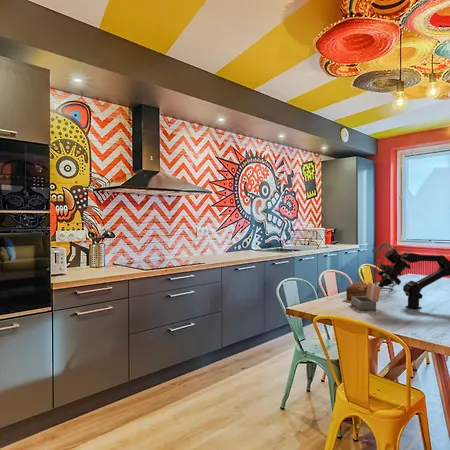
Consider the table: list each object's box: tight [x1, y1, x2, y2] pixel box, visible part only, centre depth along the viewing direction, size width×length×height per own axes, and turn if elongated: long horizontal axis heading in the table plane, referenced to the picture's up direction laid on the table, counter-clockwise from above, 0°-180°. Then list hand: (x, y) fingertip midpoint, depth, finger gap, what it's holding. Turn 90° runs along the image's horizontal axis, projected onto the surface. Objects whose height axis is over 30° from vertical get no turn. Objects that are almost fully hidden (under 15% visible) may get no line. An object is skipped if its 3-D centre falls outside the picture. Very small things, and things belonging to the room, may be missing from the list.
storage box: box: [350, 297, 377, 312], centre depth 205 cm, size 9×14×5 cm, turn 1°
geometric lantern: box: [371, 242, 399, 292], centre depth 256 cm, size 16×16×35 cm
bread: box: [345, 281, 368, 301], centre depth 230 cm, size 19×11×10 cm, turn 144°
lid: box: [366, 281, 382, 303], centre depth 205 cm, size 9×14×1 cm
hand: (378, 287), depth 205 cm, fingers closed
